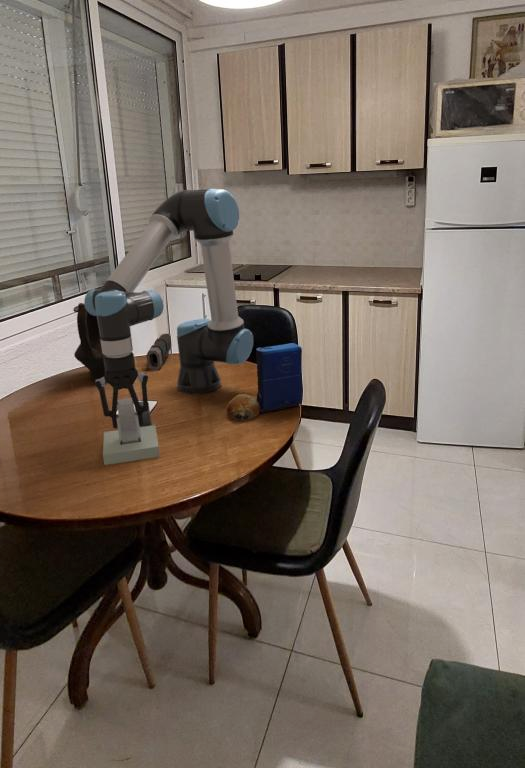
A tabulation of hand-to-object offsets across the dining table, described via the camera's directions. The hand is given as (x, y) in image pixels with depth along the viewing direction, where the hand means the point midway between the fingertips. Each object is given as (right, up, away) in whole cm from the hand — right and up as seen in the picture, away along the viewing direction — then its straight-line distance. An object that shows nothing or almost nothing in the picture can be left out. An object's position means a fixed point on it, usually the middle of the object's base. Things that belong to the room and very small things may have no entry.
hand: (130, 436), depth 148 cm
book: (+40, +7, +23) cm, 47 cm away
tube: (-6, +24, +77) cm, 81 cm away
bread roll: (+30, +5, +19) cm, 36 cm away
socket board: (0, -3, +1) cm, 4 cm away
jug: (-24, +16, +58) cm, 65 cm away
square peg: (0, -2, +1) cm, 2 cm away
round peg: (+1, +1, +13) cm, 13 cm away
